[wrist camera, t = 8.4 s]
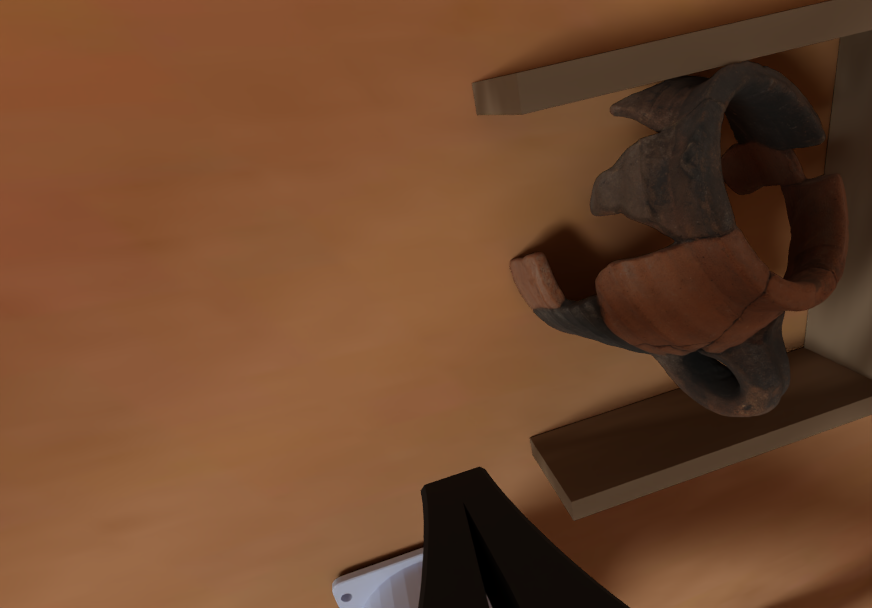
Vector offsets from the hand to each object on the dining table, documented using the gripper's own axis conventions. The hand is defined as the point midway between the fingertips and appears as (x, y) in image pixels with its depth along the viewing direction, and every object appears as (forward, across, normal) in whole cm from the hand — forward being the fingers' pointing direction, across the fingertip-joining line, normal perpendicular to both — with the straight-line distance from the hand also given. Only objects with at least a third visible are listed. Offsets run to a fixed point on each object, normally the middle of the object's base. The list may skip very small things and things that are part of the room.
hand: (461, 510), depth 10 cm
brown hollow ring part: (+10, -10, -1) cm, 14 cm away
